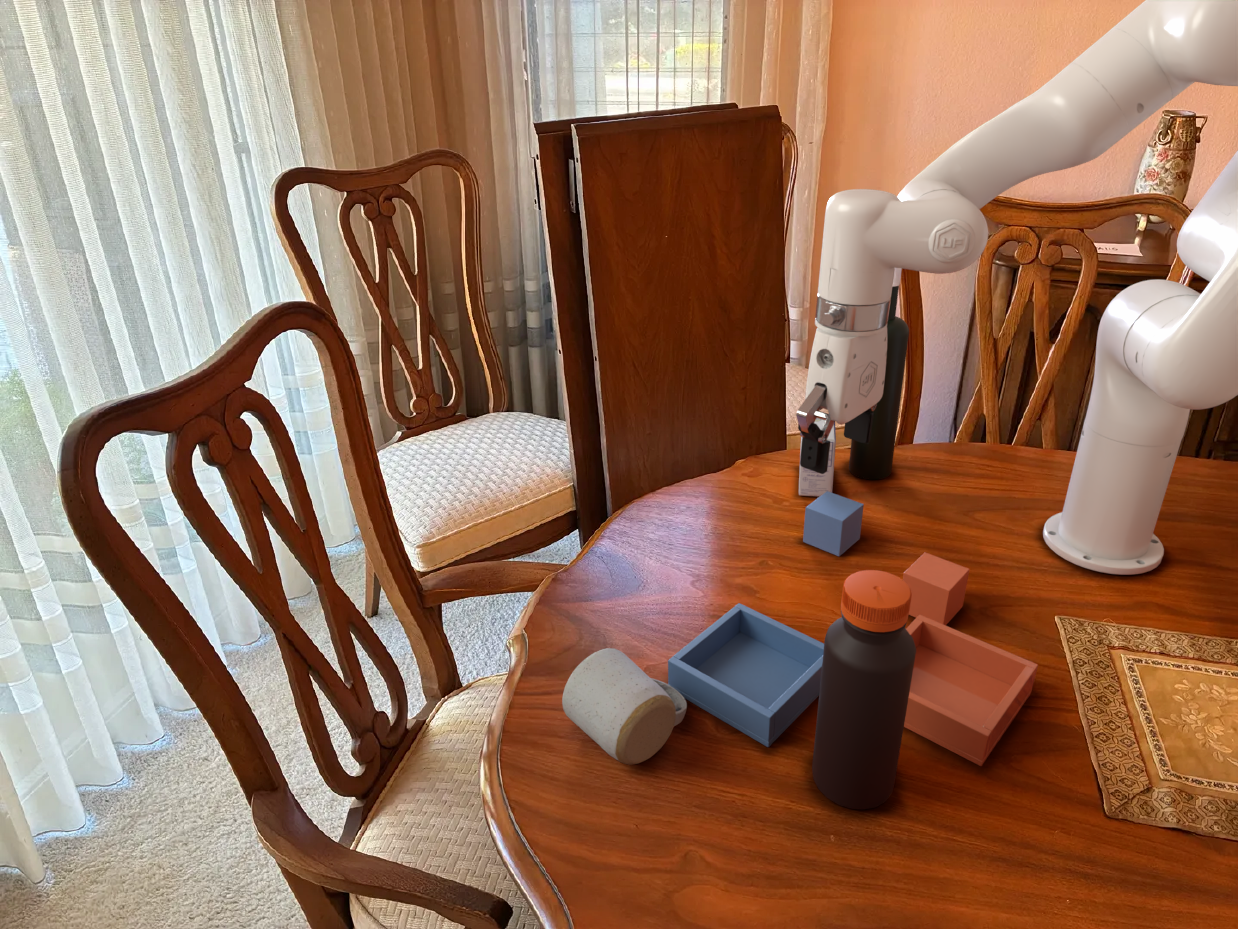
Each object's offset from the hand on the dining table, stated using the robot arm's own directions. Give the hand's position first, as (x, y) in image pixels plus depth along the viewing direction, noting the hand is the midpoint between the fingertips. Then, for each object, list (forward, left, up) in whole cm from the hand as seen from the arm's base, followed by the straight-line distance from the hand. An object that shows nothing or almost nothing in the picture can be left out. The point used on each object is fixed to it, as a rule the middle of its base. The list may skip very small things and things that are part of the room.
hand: (835, 454), depth 99 cm
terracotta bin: (+17, +22, -12) cm, 30 cm away
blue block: (0, 0, -12) cm, 12 cm away
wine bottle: (-19, -5, -12) cm, 23 cm away
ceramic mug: (+39, +2, -12) cm, 41 cm away
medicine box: (-11, -9, -12) cm, 19 cm away
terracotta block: (+5, +15, -12) cm, 20 cm away
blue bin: (+27, +7, -12) cm, 30 cm away
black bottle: (+31, +21, -12) cm, 39 cm away
